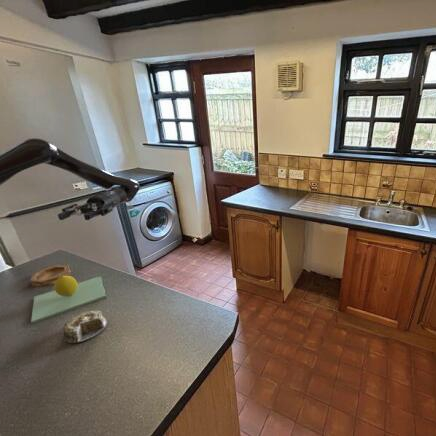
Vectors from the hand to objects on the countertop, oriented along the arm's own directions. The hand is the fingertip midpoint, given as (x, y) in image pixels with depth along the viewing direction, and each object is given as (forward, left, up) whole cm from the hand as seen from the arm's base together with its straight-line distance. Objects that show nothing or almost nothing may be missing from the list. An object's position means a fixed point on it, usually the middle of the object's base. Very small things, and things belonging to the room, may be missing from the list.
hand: (72, 217), depth 83 cm
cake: (-4, -29, -25) cm, 38 cm away
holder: (-12, +10, -25) cm, 30 cm away
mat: (-7, -9, -25) cm, 27 cm away
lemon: (-7, -9, -24) cm, 27 cm away
